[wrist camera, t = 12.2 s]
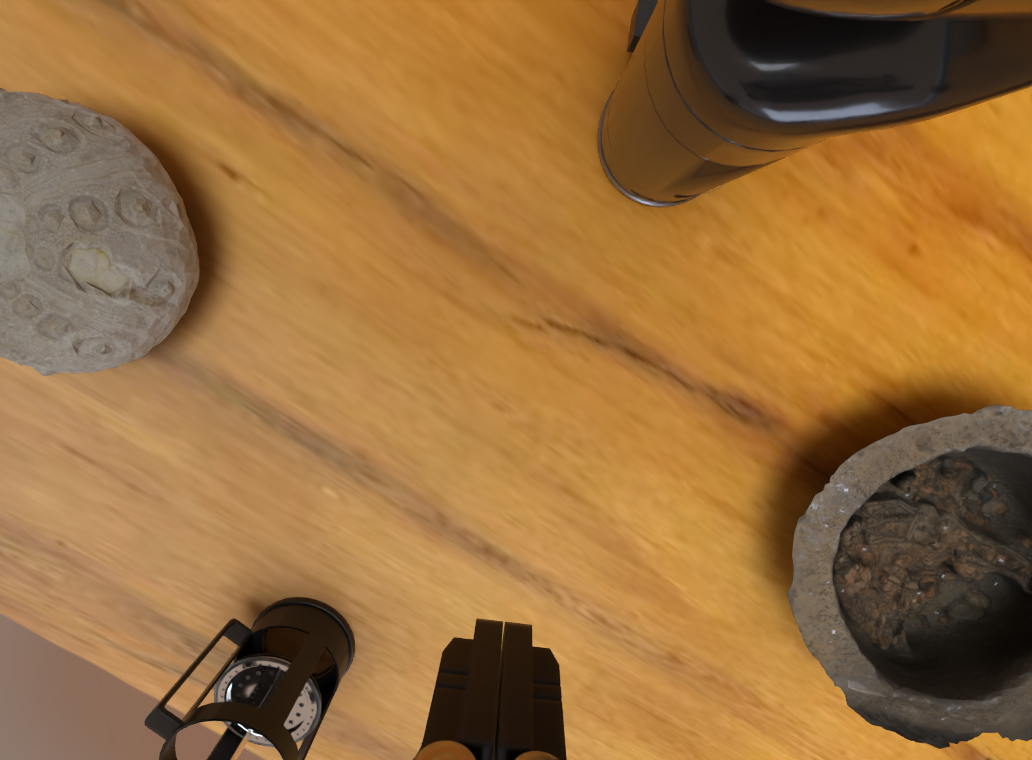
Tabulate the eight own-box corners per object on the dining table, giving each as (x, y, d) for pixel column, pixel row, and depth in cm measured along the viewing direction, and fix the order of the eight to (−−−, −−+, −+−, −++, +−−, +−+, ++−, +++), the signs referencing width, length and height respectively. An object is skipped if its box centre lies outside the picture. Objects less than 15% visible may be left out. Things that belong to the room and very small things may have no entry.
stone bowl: (996, 684, 44) (1106, 792, 35) (714, 617, 45) (750, 703, 36) (1132, 424, 38) (1306, 472, 29) (804, 355, 40) (873, 381, 30)
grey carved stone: (215, 118, 36) (97, 62, 26) (239, 363, 40) (144, 394, 30) (-29, 114, 36) (-237, 56, 26) (19, 356, 40) (-147, 385, 30)
